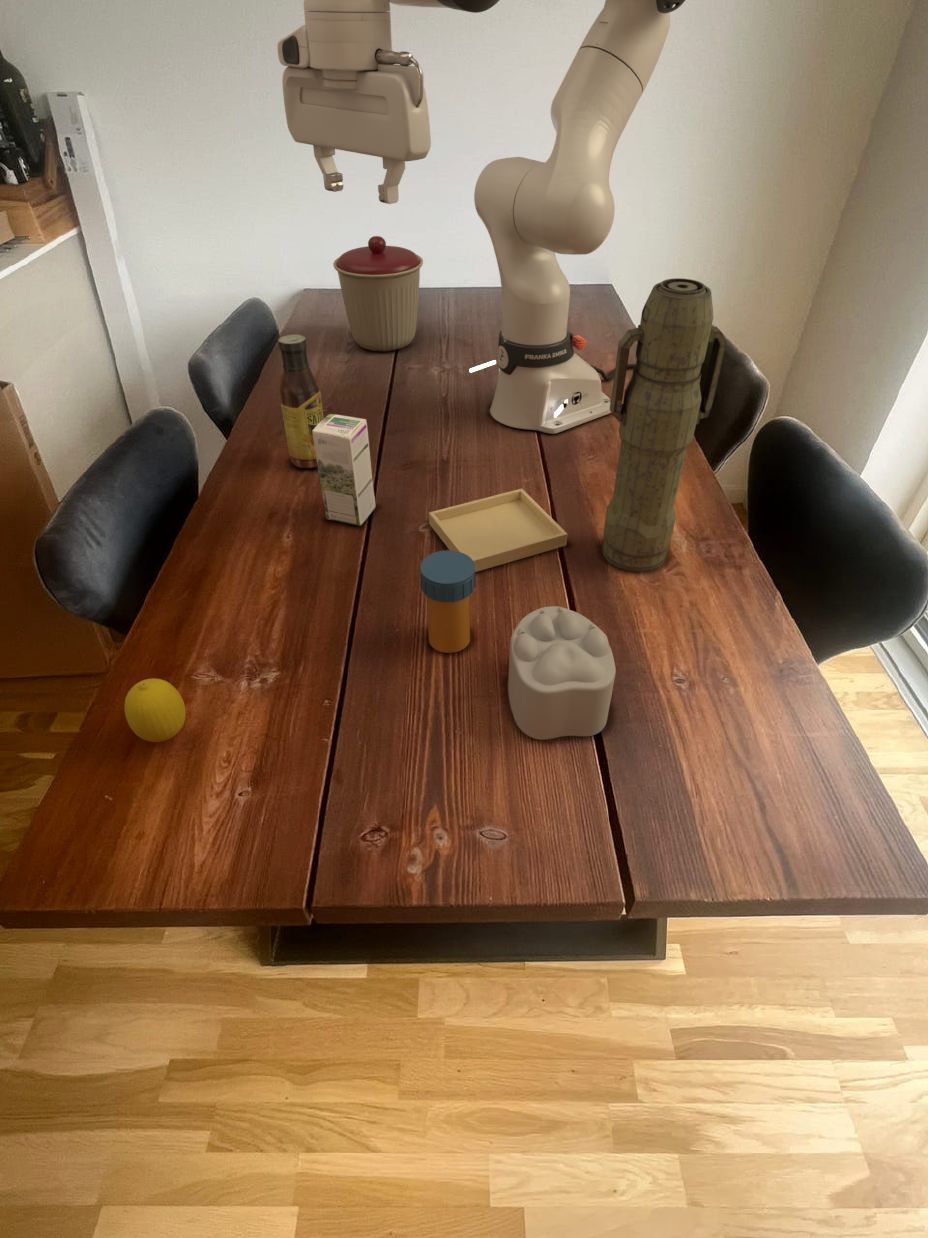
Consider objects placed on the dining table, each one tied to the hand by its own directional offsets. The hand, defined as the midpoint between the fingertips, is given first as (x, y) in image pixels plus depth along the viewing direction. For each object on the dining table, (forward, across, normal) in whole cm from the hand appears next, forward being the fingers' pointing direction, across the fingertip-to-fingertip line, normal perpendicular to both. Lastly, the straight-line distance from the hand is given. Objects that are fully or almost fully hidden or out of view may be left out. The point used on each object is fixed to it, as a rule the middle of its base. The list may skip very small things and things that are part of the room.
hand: (360, 196), depth 86 cm
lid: (+30, -30, +18) cm, 46 cm away
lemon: (+41, -17, +48) cm, 66 cm away
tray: (+40, -20, -3) cm, 45 cm away
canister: (+40, +44, -43) cm, 74 cm away
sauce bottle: (+41, +16, +1) cm, 44 cm away
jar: (+40, -30, +17) cm, 53 cm away
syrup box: (+41, 0, +7) cm, 41 cm away
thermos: (+40, -37, -12) cm, 56 cm away
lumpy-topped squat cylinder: (+41, -44, +16) cm, 62 cm away
